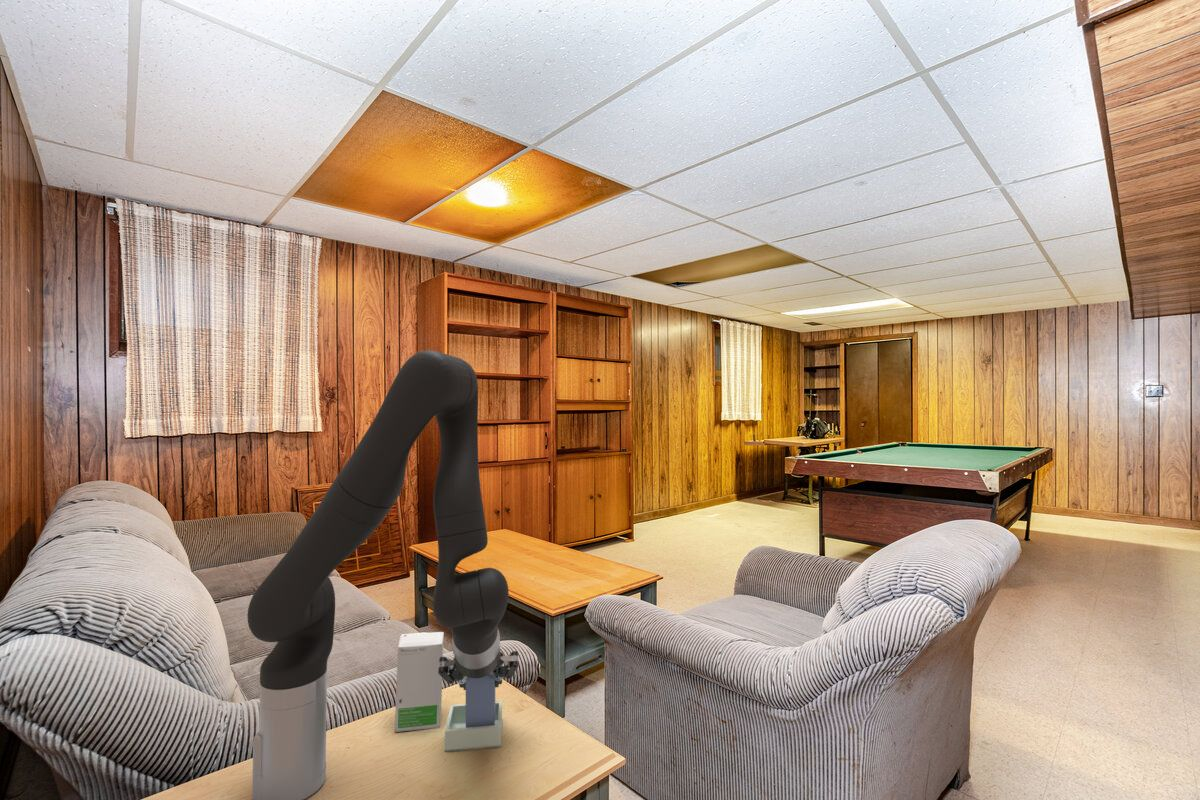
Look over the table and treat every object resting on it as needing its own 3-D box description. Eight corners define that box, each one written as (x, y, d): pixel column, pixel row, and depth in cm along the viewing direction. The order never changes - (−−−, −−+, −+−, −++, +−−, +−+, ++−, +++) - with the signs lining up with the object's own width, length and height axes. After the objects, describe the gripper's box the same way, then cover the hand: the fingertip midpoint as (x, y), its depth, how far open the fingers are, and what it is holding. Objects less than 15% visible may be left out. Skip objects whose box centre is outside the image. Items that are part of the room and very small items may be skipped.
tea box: (465, 728, 97) (465, 660, 97) (468, 713, 101) (467, 648, 102) (494, 725, 97) (494, 657, 98) (495, 710, 102) (495, 646, 103)
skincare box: (394, 733, 100) (394, 647, 100) (398, 714, 106) (399, 633, 106) (441, 727, 102) (442, 643, 102) (443, 708, 108) (443, 629, 108)
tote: (444, 752, 94) (444, 731, 94) (450, 723, 103) (450, 705, 103) (501, 746, 96) (501, 726, 96) (502, 719, 104) (502, 700, 104)
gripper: (520, 619, 94) (520, 659, 105) (434, 625, 91) (443, 665, 103) (521, 664, 88) (520, 701, 100) (429, 672, 86) (439, 708, 98)
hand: (481, 683), depth 101 cm, fingers closed on tea box, 5 cm apart
